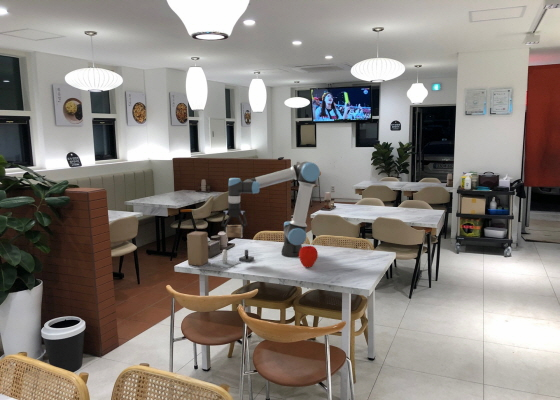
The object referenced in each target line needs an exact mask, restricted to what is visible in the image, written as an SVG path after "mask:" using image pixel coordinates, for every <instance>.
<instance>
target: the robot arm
mask: <svg viewBox="0 0 560 400" xmlns="http://www.w3.org/2000/svg"><path fill="white" fill-rule="evenodd" d="M320 175H321V171H320V168H319V166H318V165H317V164H316V163H315V162H312V161H303V162H300V163H297V164H295V165H292V166H291V167H289V168H286V169H282V170H278V171H275V172H272V173H267V174H264V175H260V176H256V177H252V178H247V179H245V180H244V181H242V179H241V178H240V177H230V178H229V179H228V187H227V188H228V209H227V210H223V217H222V221H221V225H220V226H221V227H223V231H224V233H225V238H226V239H227V238H228V237H227V225H229V222H230V220H231V219H232V218H237V219H238V221H239V223H240V225H241V237H240V238H241V239H242V238H243V233H245V228H246V227H248V222H247V219H246V211H245V210H241V203H240V202H241V194H253V195H255V194H259V192H260V189H262V188H265V187H269V186H272V185H276V184H280V183H284V182H287V181H290V180H291V181H292V180H295V181H296V180H297V181H298V183H299V186H298V192H297V195H296V196H297V197H296V201H295V207H294V212H293V217H292V220H290V221H289V220H287V221H285V222H284V223H283V245H282V249H281V256H284V257H288V258H298V257H299V252H300V249H301V248H302V247H303V244H304V243H305V242H306V240H307V228H308V225H307V223H306V221H307V217H308V212H309V207H310V202H311V197H312V193H313V188H314V187H315V186H317V185H316V184H317V180H318V179H319V178H320V177H319V176H320ZM227 214H228V215H229V216H228V217H227V219H226V215H227ZM240 214H241V215H242V218H243V220H242V219H241V216H240ZM225 219H226V221H225Z"/></svg>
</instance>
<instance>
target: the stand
mask: <svg viewBox="0 0 560 400" xmlns="http://www.w3.org/2000/svg"><path fill="white" fill-rule="evenodd" d="M254 260H255V257H254V256H250V255H249V249H244V256H243V255H242V256H241V257H239V258H238V262H244V263H250V262H253V261H254Z"/></svg>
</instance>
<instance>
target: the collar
mask: <svg viewBox="0 0 560 400" xmlns="http://www.w3.org/2000/svg"><path fill="white" fill-rule="evenodd" d="M226 227H227V238H241V227H242V225H241V224H227V226H226Z"/></svg>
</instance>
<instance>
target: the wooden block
mask: <svg viewBox="0 0 560 400" xmlns="http://www.w3.org/2000/svg"><path fill="white" fill-rule="evenodd" d="M208 235H209V234H208V232H207V231H197V230H195V231H191V232H189V233H187V234H186V238H187V240H186V243H187V247H186V248H187V264H188V265H189V266H190V265H191V266H196V267H197V266H199V267H202V266H204V265H205V264H207V263H209V240H208V239H209V237H208Z"/></svg>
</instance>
